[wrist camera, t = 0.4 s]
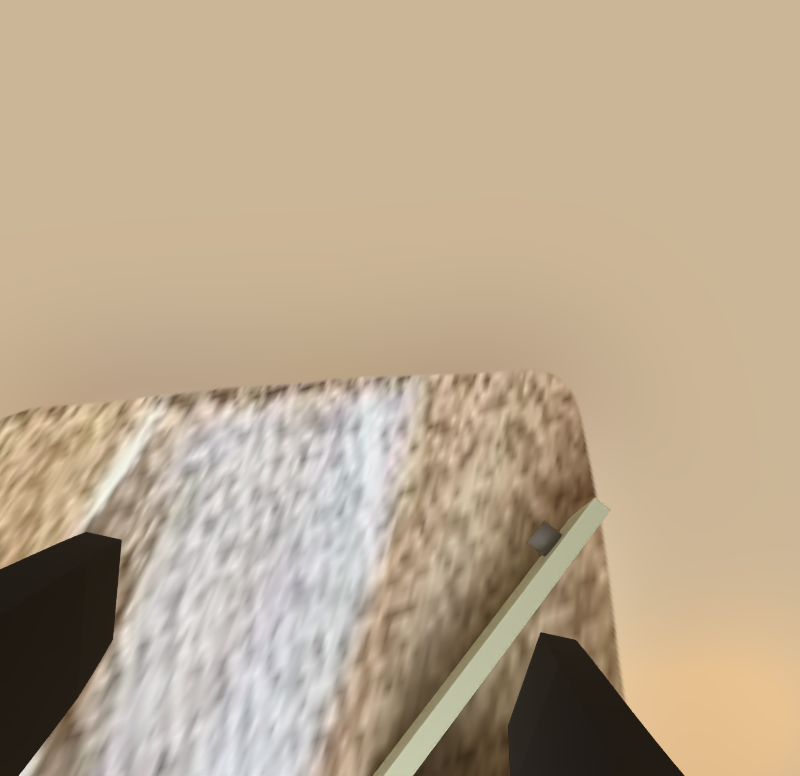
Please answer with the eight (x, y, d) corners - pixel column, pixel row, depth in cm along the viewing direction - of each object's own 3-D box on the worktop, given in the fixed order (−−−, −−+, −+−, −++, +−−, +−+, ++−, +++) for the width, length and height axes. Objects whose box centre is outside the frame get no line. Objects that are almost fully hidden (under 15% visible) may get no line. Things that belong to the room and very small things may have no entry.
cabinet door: (583, 527, 36) (610, 509, 30) (370, 810, 31) (355, 852, 25) (554, 504, 36) (576, 482, 31) (341, 778, 31) (320, 811, 26)
